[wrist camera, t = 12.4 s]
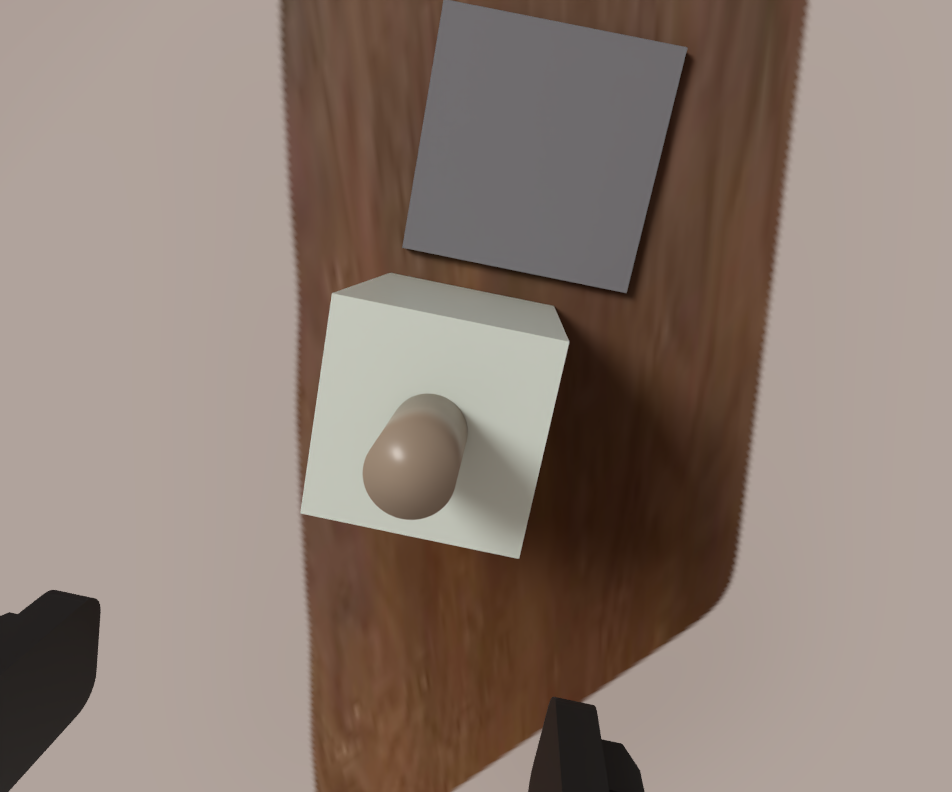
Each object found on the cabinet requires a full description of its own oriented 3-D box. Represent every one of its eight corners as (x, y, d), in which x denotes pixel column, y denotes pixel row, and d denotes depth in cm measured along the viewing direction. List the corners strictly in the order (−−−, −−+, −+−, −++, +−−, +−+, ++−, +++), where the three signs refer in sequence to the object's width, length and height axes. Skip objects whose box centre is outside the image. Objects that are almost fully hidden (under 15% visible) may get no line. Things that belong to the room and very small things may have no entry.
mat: (444, 3, 34) (443, -1, 34) (684, 50, 34) (687, 47, 33) (404, 247, 37) (402, 247, 37) (625, 292, 37) (626, 293, 36)
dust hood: (390, 272, 38) (288, 308, 21) (553, 306, 37) (580, 368, 21) (364, 429, 40) (254, 573, 23) (519, 461, 40) (519, 628, 23)
